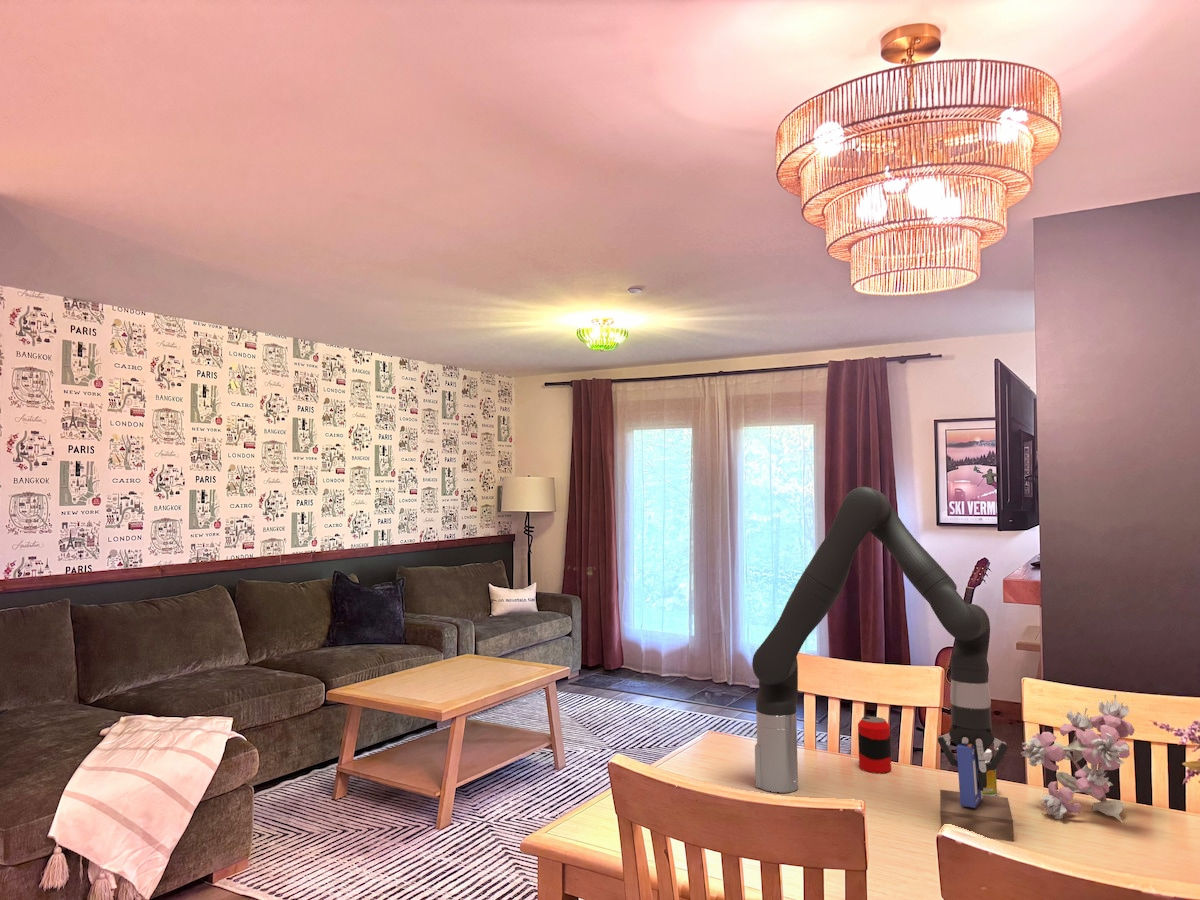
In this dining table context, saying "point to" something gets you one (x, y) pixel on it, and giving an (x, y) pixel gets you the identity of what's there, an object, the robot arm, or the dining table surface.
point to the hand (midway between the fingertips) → (973, 788)
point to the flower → (1093, 752)
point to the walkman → (968, 776)
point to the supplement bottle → (990, 777)
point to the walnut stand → (978, 815)
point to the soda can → (874, 745)
